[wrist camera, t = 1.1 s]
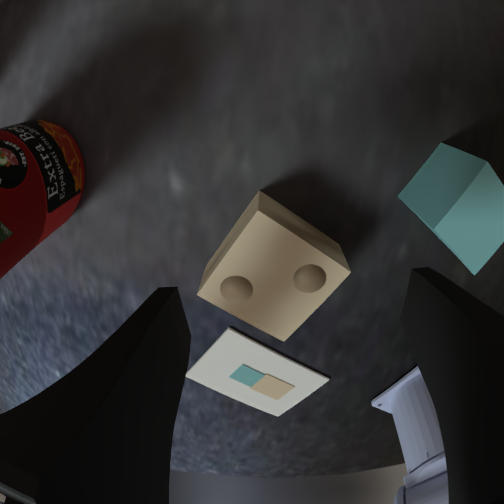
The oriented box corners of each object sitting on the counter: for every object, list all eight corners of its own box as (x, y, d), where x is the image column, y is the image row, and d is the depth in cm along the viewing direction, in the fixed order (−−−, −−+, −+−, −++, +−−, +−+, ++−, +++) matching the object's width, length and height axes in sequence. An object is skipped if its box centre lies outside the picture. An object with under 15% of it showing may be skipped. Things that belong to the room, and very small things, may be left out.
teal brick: (477, 188, 17) (522, 217, 13) (437, 236, 19) (474, 275, 14) (440, 142, 16) (487, 161, 12) (397, 195, 18) (433, 229, 13)
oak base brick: (338, 243, 20) (351, 272, 17) (282, 306, 22) (283, 341, 19) (259, 189, 18) (257, 210, 15) (207, 263, 21) (196, 294, 18)
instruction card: (329, 378, 25) (329, 380, 25) (277, 414, 28) (277, 417, 28) (228, 327, 23) (228, 329, 22) (185, 374, 26) (184, 376, 25)
